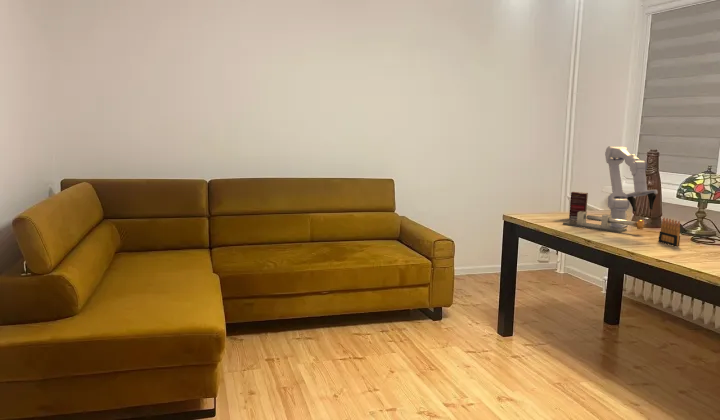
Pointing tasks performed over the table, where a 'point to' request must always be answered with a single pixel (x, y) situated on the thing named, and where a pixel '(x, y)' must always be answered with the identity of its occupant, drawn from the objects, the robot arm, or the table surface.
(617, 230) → the plate
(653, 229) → the table surface
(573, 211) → the supplement box
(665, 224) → the ammunition clip
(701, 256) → the table surface
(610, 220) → the shaft
